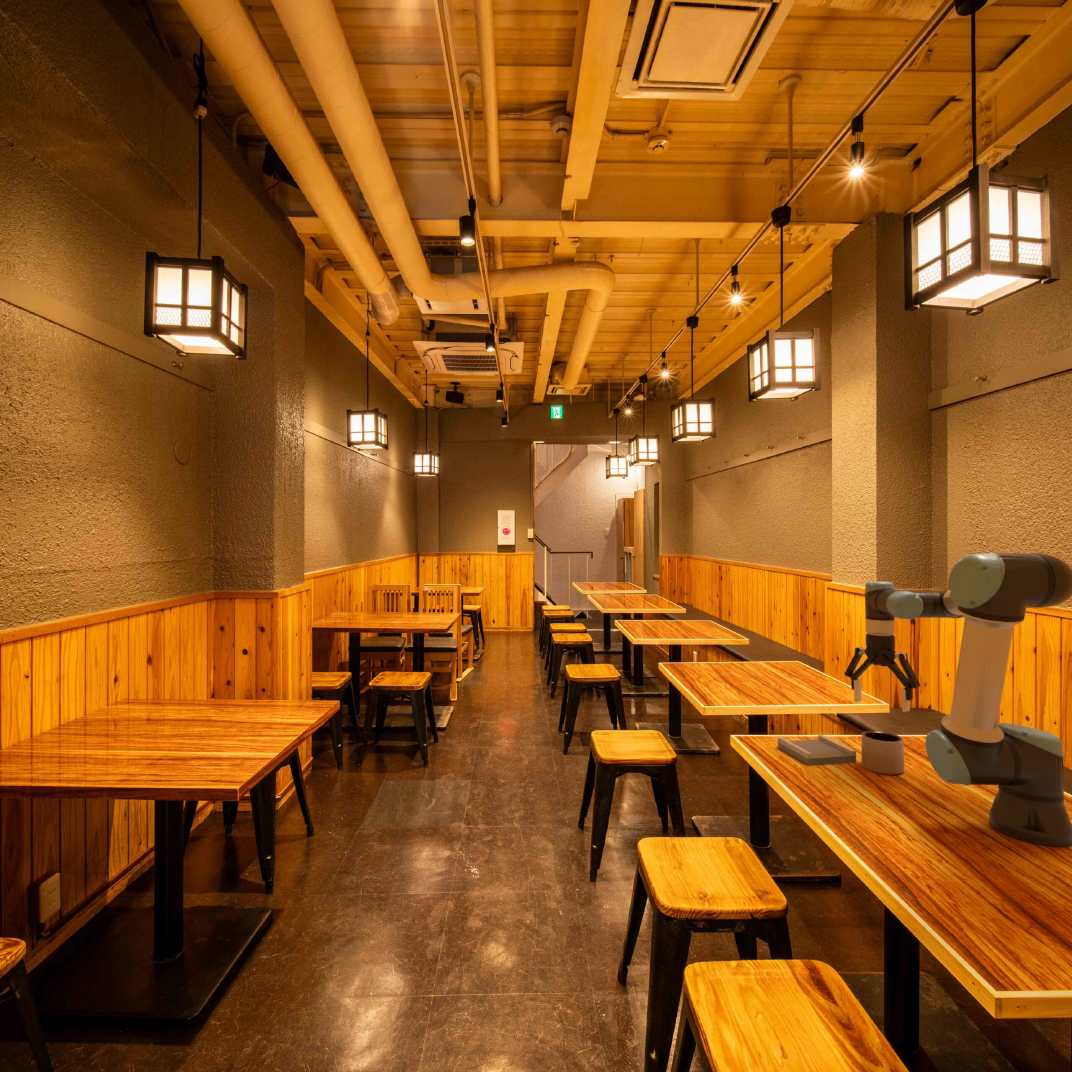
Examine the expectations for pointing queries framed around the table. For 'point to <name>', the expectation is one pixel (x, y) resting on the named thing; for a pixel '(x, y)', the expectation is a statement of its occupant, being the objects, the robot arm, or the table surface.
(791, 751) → the grey square tray
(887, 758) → the planter
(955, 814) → the table surface
